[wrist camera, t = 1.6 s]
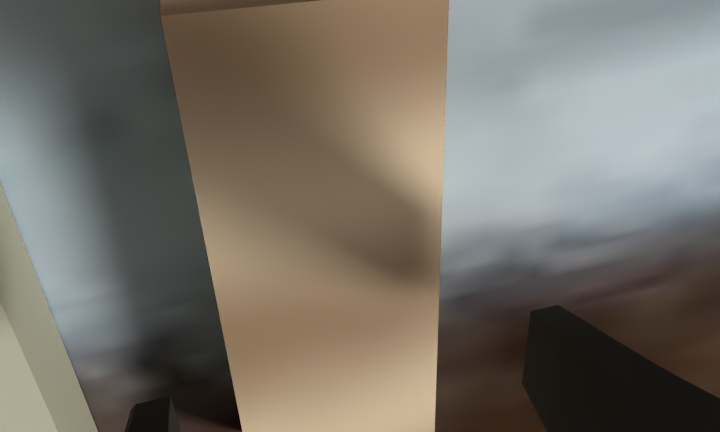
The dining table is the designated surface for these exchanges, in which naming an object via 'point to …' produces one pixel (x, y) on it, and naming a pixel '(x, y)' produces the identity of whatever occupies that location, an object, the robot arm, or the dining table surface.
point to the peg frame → (32, 349)
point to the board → (319, 201)
